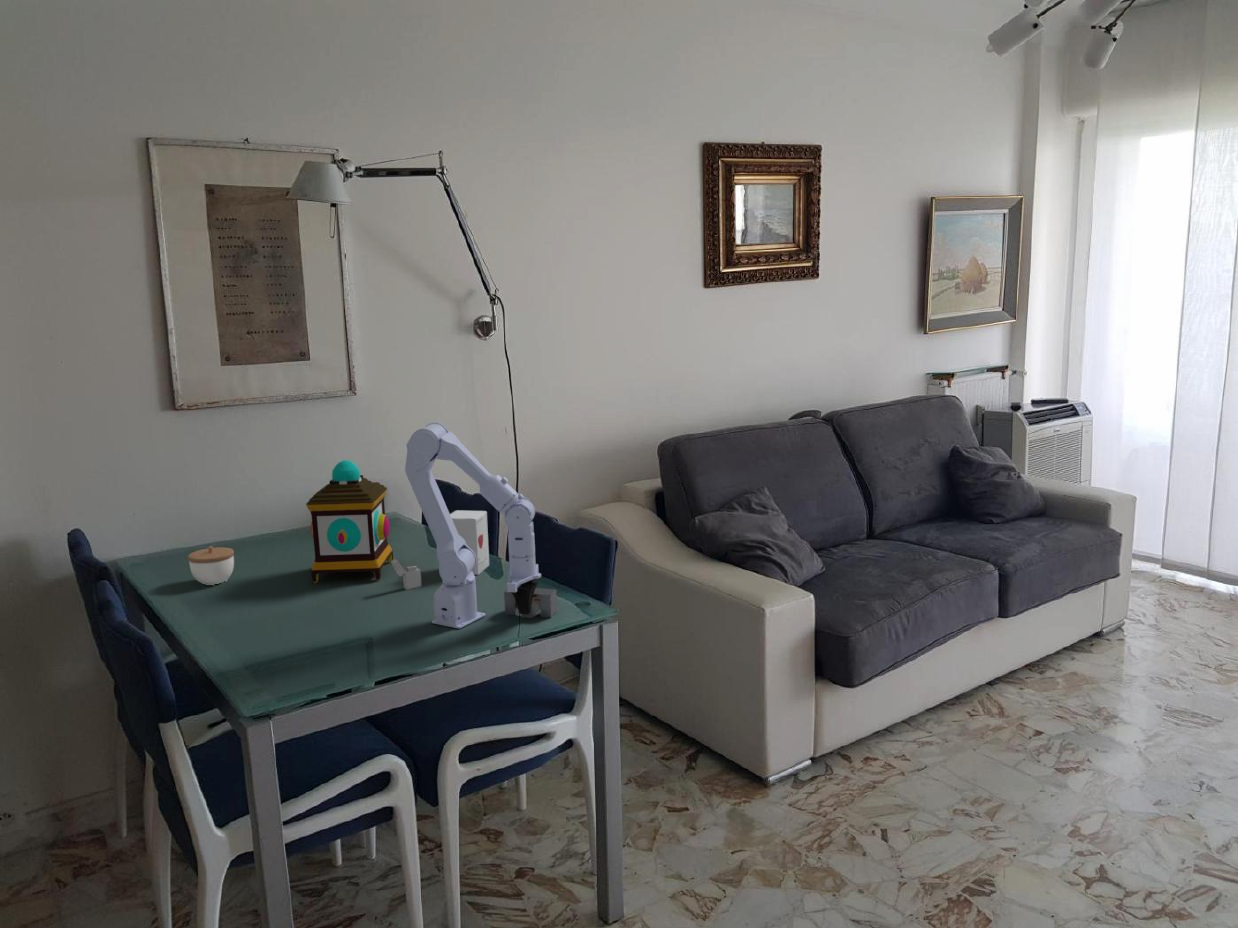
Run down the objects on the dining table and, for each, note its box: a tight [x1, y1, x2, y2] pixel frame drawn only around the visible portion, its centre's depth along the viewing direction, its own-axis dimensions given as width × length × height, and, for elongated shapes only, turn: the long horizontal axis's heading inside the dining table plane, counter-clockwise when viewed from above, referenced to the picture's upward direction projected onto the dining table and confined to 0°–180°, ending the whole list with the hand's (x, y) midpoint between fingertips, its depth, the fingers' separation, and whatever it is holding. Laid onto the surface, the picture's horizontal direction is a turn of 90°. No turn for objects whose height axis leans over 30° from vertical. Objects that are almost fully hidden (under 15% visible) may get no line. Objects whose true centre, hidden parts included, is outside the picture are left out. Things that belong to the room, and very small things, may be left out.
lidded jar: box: [187, 545, 235, 586], centre depth 243 cm, size 11×11×9 cm
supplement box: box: [450, 509, 490, 576], centre depth 248 cm, size 9×9×15 cm
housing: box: [503, 587, 558, 619], centre depth 215 cm, size 4×11×5 cm, turn 75°
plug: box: [521, 597, 540, 619], centre depth 217 cm, size 11×4×3 cm, turn 166°
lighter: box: [390, 558, 422, 591], centre depth 234 cm, size 7×2×8 cm, turn 128°
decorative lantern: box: [305, 459, 394, 584], centre depth 246 cm, size 20×20×30 cm
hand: (524, 613), depth 211 cm, fingers closed
